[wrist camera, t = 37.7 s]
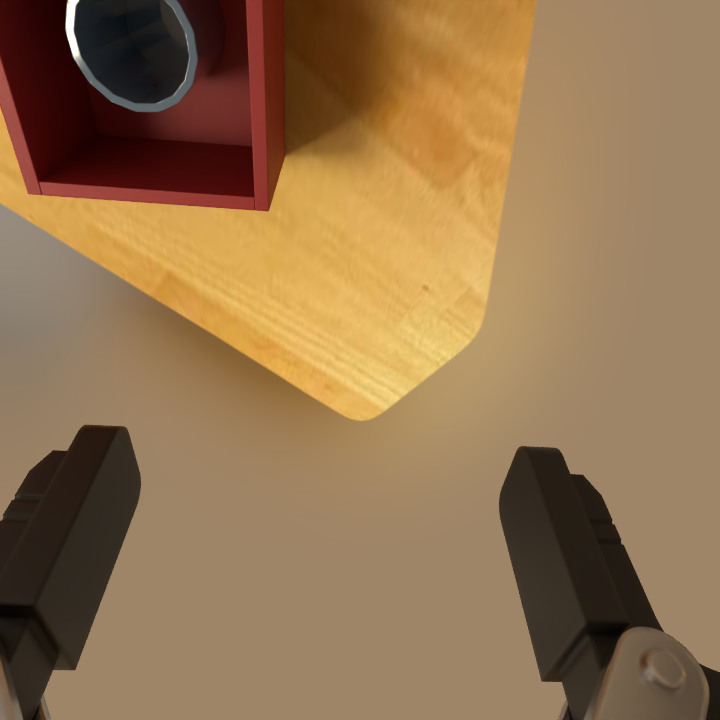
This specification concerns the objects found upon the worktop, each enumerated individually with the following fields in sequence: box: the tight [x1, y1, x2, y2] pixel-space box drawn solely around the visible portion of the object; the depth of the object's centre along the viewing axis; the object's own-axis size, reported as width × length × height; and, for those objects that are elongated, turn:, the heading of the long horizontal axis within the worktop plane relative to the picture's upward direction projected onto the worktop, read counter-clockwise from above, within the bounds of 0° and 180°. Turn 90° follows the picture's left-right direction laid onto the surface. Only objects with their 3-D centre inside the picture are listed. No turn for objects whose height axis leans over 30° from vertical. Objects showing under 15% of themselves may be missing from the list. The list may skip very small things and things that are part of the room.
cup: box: [65, 0, 226, 112], centre depth 30 cm, size 6×6×8 cm
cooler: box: [0, 0, 285, 211], centre depth 30 cm, size 16×14×10 cm
